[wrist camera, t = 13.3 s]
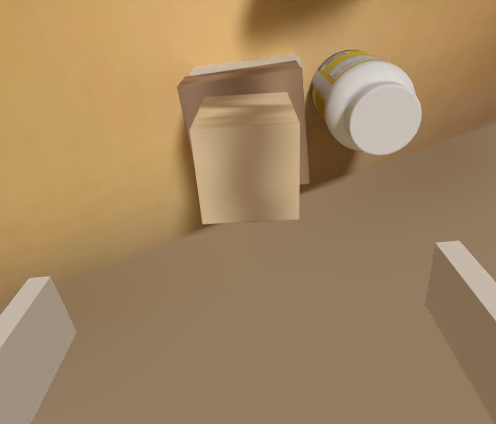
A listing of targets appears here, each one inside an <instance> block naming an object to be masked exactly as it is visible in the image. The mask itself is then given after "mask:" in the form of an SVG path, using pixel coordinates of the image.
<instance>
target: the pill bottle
mask: <svg viewBox="0 0 496 424" xmlns="http://www.w3.org/2000/svg"><path fill="white" fill-rule="evenodd" d="M311 95H312V101H313V104H314V106H315V108H316V110H317V112H318V113H319V115H320V116H321V118H322V120H323V121H324V123H325V125H326V126H327V128H328V129H329V131H330V132H331V134H332V135H333V137H334V138H335V139H336V140H337V141H338V142H339V143H341V144H342V145H344V146H345V147H347V148H350V149H353V150H358V151H364V152H366V153H369V154H373V155H386V154H390V153H393V152H396V151H398V150H399V149H401V148H403V147H404V146H405V145H407V144H408V143H409V142H410V141H411V140H412V138H413V137H414V136H415V134H416V132H417V130H418V128H419V126H420V122H421V115H422V112H421V106H420V103H419V100H418V99H417V97H416V94H415V89H414V86H413V84H412V82H411V80H410V78H409V77H408V75H407V74H406V73H405V72H404V71H403V70H401V69H400V68H399V67H397V66H395V65H393V64H391V63H389V62H387V61H384V60H382V59H380V58H377V57H375V56H373V55H370V54H368V53H365V52H363V51H359V50H345V51H341V52H338V53H336V54H334V55H332V56H331V57H329V58H328V59H327V60H325V61H324V62H323V63H322V64H321V66H320V67H319V68H318V70H317V72H316V74H315V76H314V78H313V82H312V88H311Z"/></svg>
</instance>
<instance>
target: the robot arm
mask: <svg viewBox="0 0 496 424" xmlns="http://www.w3.org/2000/svg"><path fill="white" fill-rule="evenodd" d="M425 306H426V308H427V309H428V311H429V313H430V314H431V316H432V318H433V320H434V321H435V323H436V325H437V327H438V328H439V330H440V332H441V333H442V335H443V337H444V339H445V340H446V342H447V344H448V345H449V347H450V349H451V351H452V352H453V354H454V356H455V357H456V359H457V361H458V363H459V364H460V366H461V368H462V369H463V371H464V373H465V375H466V376H467V378H468V380H469V381H470V383H471V385H472V387H473V388H474V390H475V392H476V393H477V395H478V397H479V399H480V400H481V402H482V404H483V405H484V407H485V409H486V411H487V412H488V414H489V416H490V418H491V419H492V421H493V423H494V424H496V282H495V281H494V280H493V279H492V278H491V277H490V276H489V274H488V273H487V272H486V271H485V270H484V269H483V267H482V266H481V265H480V264H479V263H478V262H477V261H476V259H475V258H473V256H472V255H471V254H470V253H469V251H468V250H467V249H466V248H465V247H464V246H463V245H462V243H461V242H460V241H451V242H440V243H435V249H434V255H433V260H432V267H431V272H430V278H429V284H428V289H427V295H426V301H425ZM75 334H76V330H75V328H74V326H73V324H72V322H71V319H70V317H69V315H68V313H67V311H66V309H65V306H64V304H63V302H62V300H61V298H60V296H59V294H58V291H57V289H56V287H55V285H54V283H53V281H52V278H51V276H48V277H37V278H29V279H28V280H27V282H26V283H25V284H24V285H23V287H22V288H21V289H20V291H19V292H18V293H17V295H16V296H15V297H14V298H13V300H12V301H11V302H10V304H9V305H8V306H7V308H6V309H5V310H4V311H3V313H2V314H1V315H0V424H30V423H31V422H32V420H33V418H34V416H35V414H36V412H37V410H38V408H39V406H40V404H41V402H42V400H43V398H44V396H45V394H46V392H47V390H48V388H49V386H50V384H51V382H52V380H53V378H54V376H55V374H56V372H57V370H58V368H59V366H60V364H61V362H62V360H63V358H64V356H65V354H66V352H67V350H68V348H69V346H70V344H71V342H72V340H73V338H74V336H75Z"/></svg>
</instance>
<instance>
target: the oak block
mask: <svg viewBox="0 0 496 424" xmlns="http://www.w3.org/2000/svg"><path fill="white" fill-rule="evenodd" d="M190 137H191V144H192V152H193V159H194V166H195V173H196V180H197V188H198V195H199V202H200V209H201V216H202V224H216V223H236V222H256V221H275V220H276V221H277V220H296V219H299V186H300V122H299V120H298V118H297V115H296V113H295V110H294V108H293V105H292V103H291V100H290V98H289V96H288V93H287V92H280V93H264V94H247V95H231V96H214V97H205V98H204V100H203V102H202V104H201V106H200V108H199V111H198V113H197V115H196V117H195V119H194V121H193V123H192V126H191V128H190Z"/></svg>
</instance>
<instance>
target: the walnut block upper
mask: <svg viewBox="0 0 496 424" xmlns="http://www.w3.org/2000/svg"><path fill="white" fill-rule="evenodd" d="M177 89H178V94H179V98H180V103H181V107H182V111H183V116H184V120H185V124H186V129H187V133H188V138H189V142H190V146H191V151H192V144H191V137H190V128H191V126H192V123H193V121H194V119H195V117H196V115H197V113H198V111H199V108H200V106H201V104H202V102H203V100H204V98H205V97H214V96H231V95H247V94H264V93H280V92H287V93H288V96H289V98H290V100H291V103H292V105H293V108H294V110H295V113H296V115H297V118H298V120H299V122H300V185H301V184H309V183H310V180H309V166H308V151H307V136H306V121H305V106H304V91H303V76H302V68H301V67H300V65H299V64H298V62H297V61H296V60H294V61H287V62H281V63H274V64H267V65H261V66H254V67H247V68H241V69H234V70H227V71H221V72H214V73H207V74H201V75H194V76H187V77H185V78H184V79H183V80H182V81H181V83H180V84H179V85H178V86H177ZM192 155H193V152H192ZM193 160H194V159H193Z"/></svg>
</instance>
